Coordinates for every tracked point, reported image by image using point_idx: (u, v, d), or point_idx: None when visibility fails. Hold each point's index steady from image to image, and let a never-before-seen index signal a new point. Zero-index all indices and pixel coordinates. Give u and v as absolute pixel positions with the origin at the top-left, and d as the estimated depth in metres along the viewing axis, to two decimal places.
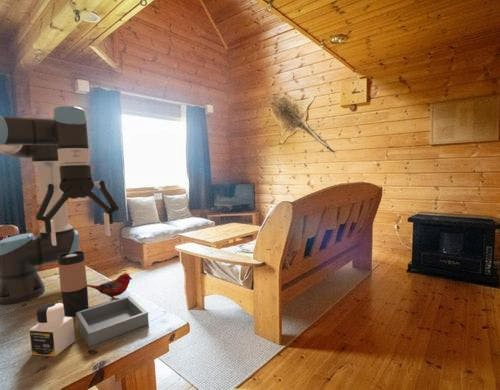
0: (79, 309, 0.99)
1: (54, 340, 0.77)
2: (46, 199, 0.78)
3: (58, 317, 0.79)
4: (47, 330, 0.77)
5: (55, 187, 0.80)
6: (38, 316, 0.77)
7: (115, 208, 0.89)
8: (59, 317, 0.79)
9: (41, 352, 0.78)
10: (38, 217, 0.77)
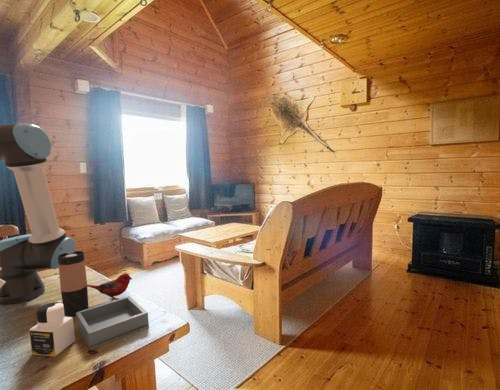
0: (79, 309, 0.99)
1: (54, 340, 0.77)
2: None
3: (58, 317, 0.79)
4: (47, 330, 0.77)
5: None
6: (38, 316, 0.77)
7: None
8: (59, 317, 0.79)
9: (41, 352, 0.78)
10: None
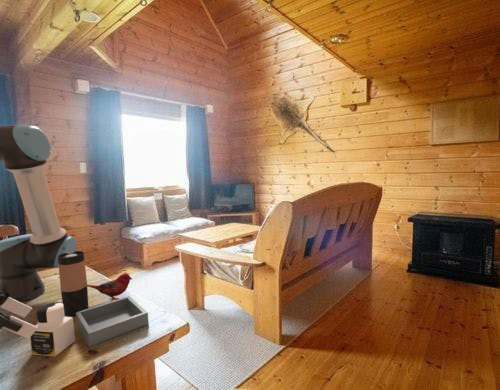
0: (79, 309, 0.99)
1: (54, 340, 0.77)
2: None
3: (58, 317, 0.79)
4: (47, 330, 0.77)
5: None
6: (38, 316, 0.77)
7: None
8: (59, 317, 0.79)
9: (41, 352, 0.78)
10: None
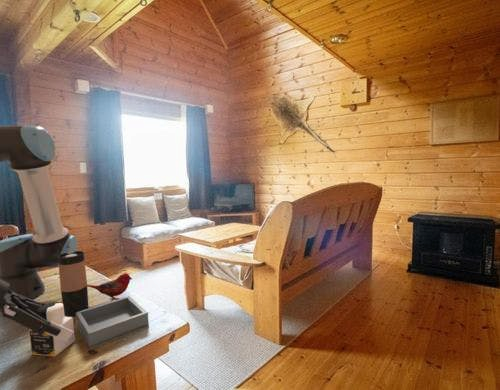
0: (79, 309, 0.99)
1: (54, 340, 0.77)
2: None
3: (57, 317, 0.79)
4: None
5: None
6: None
7: None
8: (59, 317, 0.79)
9: (41, 352, 0.78)
10: None
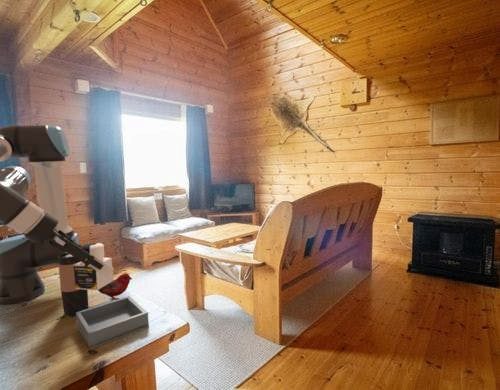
0: (79, 309, 0.99)
1: (96, 275, 0.82)
2: None
3: (99, 255, 0.84)
4: None
5: None
6: None
7: None
8: (100, 254, 0.84)
9: (84, 286, 0.83)
10: None
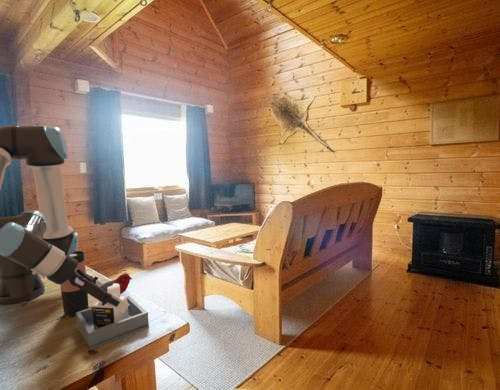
0: (79, 309, 0.99)
1: (114, 315, 0.87)
2: None
3: (116, 296, 0.89)
4: (108, 307, 0.86)
5: None
6: None
7: None
8: (117, 295, 0.89)
9: (102, 326, 0.87)
10: None
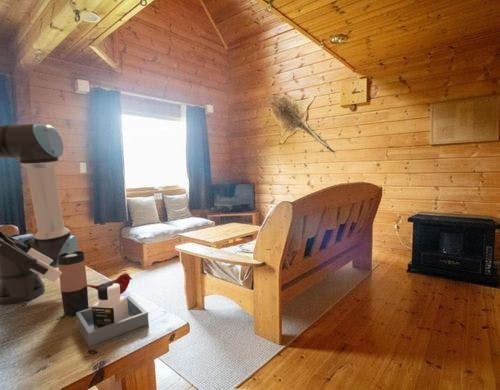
0: (79, 309, 0.99)
1: (114, 315, 0.87)
2: None
3: (116, 296, 0.89)
4: (108, 307, 0.86)
5: None
6: (100, 294, 0.87)
7: None
8: (117, 295, 0.89)
9: (102, 326, 0.87)
10: None
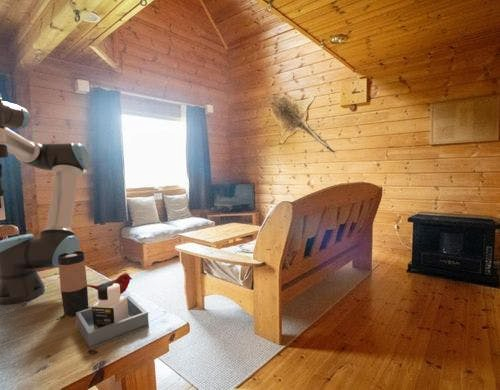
0: (79, 309, 0.99)
1: (114, 315, 0.87)
2: None
3: (116, 296, 0.89)
4: (108, 307, 0.86)
5: None
6: (100, 294, 0.87)
7: None
8: (117, 295, 0.89)
9: (102, 326, 0.87)
10: None
